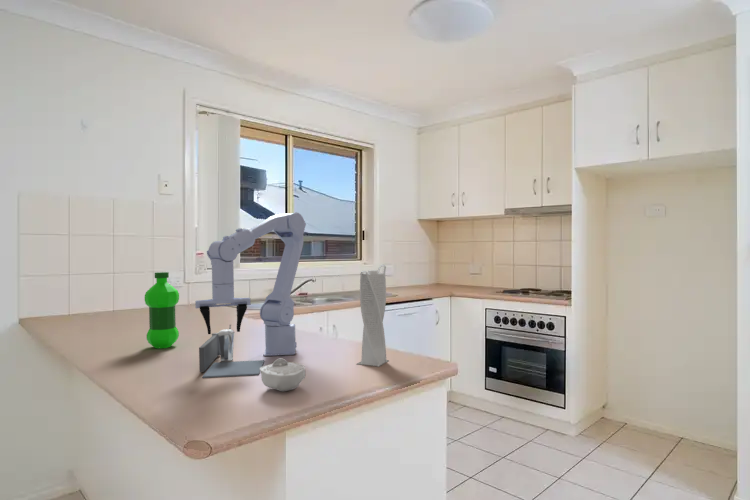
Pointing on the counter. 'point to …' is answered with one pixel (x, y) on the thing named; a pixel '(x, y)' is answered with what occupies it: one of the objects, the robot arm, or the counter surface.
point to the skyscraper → (373, 317)
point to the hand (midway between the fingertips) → (223, 332)
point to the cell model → (282, 375)
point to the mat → (234, 369)
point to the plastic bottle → (162, 312)
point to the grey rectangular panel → (209, 352)
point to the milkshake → (226, 344)
